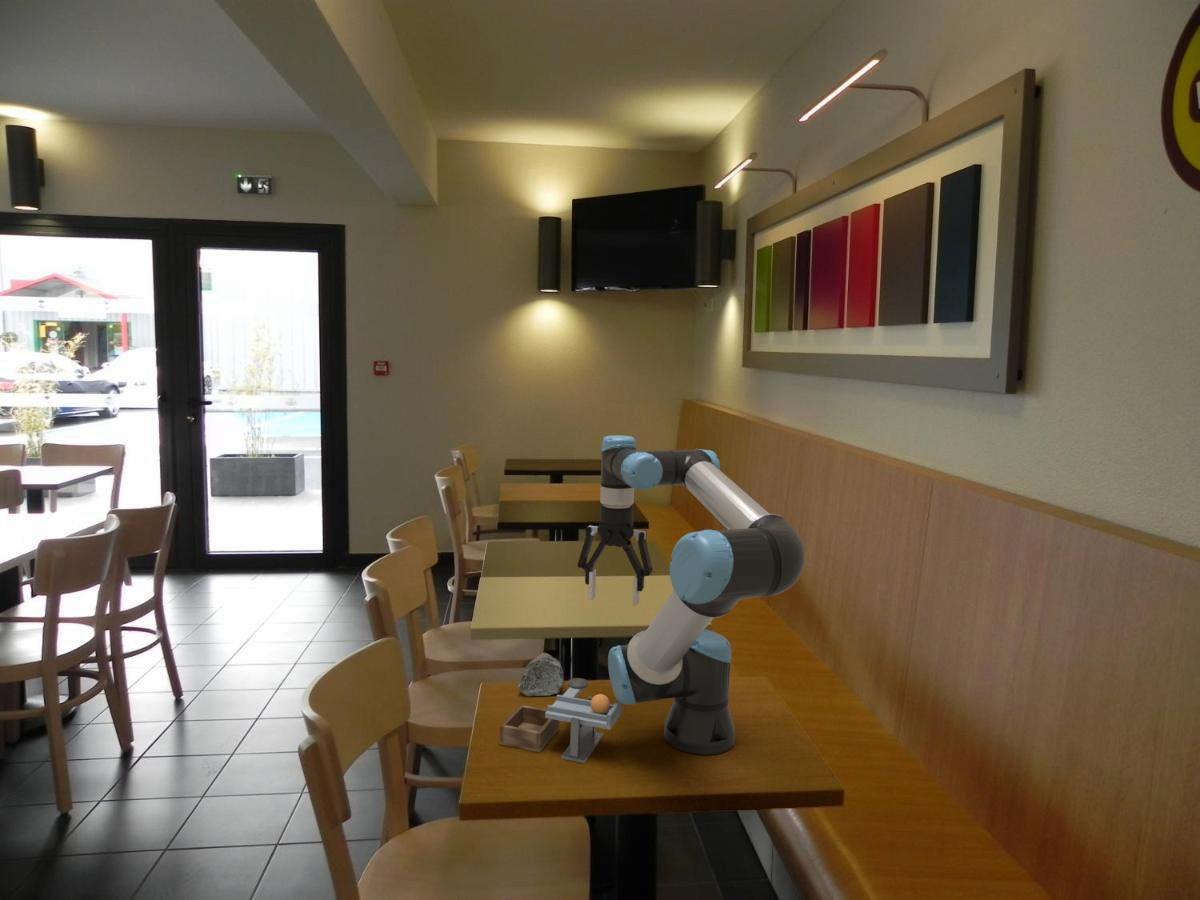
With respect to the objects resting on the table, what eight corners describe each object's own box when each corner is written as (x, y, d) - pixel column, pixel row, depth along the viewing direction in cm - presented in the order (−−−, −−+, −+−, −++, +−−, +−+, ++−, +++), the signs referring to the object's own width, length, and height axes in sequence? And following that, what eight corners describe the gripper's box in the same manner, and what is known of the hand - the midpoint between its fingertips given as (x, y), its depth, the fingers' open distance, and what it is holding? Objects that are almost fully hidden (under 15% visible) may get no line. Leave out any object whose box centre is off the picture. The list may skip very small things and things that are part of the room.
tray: (558, 729, 171) (559, 711, 170) (539, 752, 161) (540, 733, 160) (520, 721, 173) (521, 704, 173) (499, 744, 163) (500, 726, 163)
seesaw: (634, 693, 173) (634, 680, 173) (609, 730, 156) (609, 716, 156) (571, 683, 178) (572, 670, 177) (541, 718, 160) (541, 704, 160)
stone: (541, 659, 183) (552, 642, 193) (510, 681, 185) (522, 664, 195) (567, 691, 183) (576, 673, 193) (535, 713, 185) (545, 694, 195)
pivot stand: (603, 735, 168) (604, 697, 167) (584, 763, 157) (585, 722, 156) (581, 731, 170) (582, 694, 169) (561, 758, 158) (562, 718, 157)
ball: (612, 710, 162) (612, 692, 162) (606, 719, 159) (606, 700, 158) (593, 707, 164) (594, 689, 163) (587, 716, 160) (588, 697, 159)
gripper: (669, 506, 175) (665, 602, 178) (575, 497, 182) (573, 590, 185) (661, 512, 168) (657, 612, 171) (564, 503, 175) (561, 600, 178)
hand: (613, 601), depth 178 cm, fingers open, 10 cm apart
